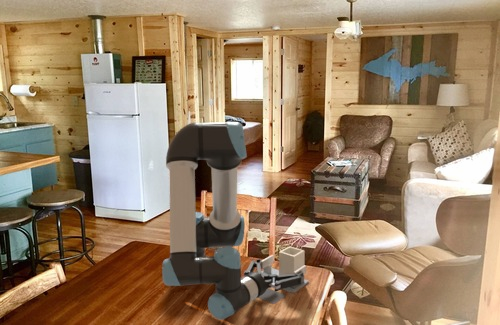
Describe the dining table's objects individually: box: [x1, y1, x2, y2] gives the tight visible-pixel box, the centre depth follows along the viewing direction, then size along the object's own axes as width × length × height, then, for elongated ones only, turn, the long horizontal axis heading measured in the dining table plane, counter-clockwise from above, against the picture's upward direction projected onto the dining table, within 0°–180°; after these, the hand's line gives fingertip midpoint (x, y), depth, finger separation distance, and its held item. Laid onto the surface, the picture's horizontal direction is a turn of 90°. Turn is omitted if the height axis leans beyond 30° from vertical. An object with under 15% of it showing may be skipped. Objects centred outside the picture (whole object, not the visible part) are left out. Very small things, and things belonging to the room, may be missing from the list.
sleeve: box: [278, 246, 306, 289], centre depth 147 cm, size 6×6×12 cm
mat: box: [257, 288, 287, 305], centre depth 141 cm, size 10×7×1 cm
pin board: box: [261, 264, 310, 294], centre depth 151 cm, size 18×10×5 cm, turn 50°
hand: (288, 263), depth 145 cm, fingers open, 13 cm apart
